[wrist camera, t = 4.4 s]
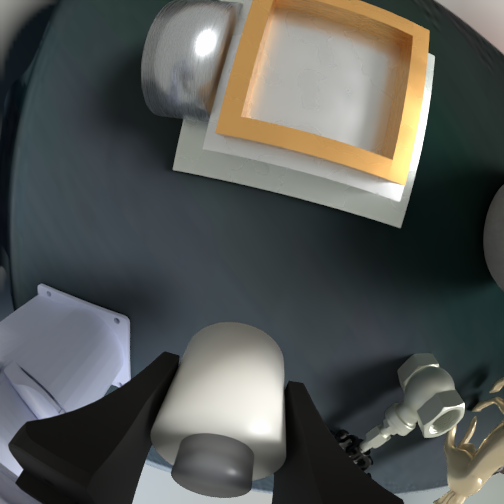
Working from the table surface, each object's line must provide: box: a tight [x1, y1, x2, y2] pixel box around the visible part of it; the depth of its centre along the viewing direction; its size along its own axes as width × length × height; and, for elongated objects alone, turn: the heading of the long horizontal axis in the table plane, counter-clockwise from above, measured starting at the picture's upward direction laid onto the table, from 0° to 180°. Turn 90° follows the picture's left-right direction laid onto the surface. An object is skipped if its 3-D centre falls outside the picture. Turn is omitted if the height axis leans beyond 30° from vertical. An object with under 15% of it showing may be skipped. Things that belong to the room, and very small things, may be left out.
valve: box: [329, 353, 465, 478], centre depth 18 cm, size 7×7×12 cm
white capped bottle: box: [150, 322, 286, 498], centre depth 9 cm, size 4×4×6 cm
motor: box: [141, 0, 435, 228], centre depth 12 cm, size 14×12×7 cm
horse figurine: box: [433, 377, 504, 504], centre depth 14 cm, size 20×4×17 cm, turn 156°
